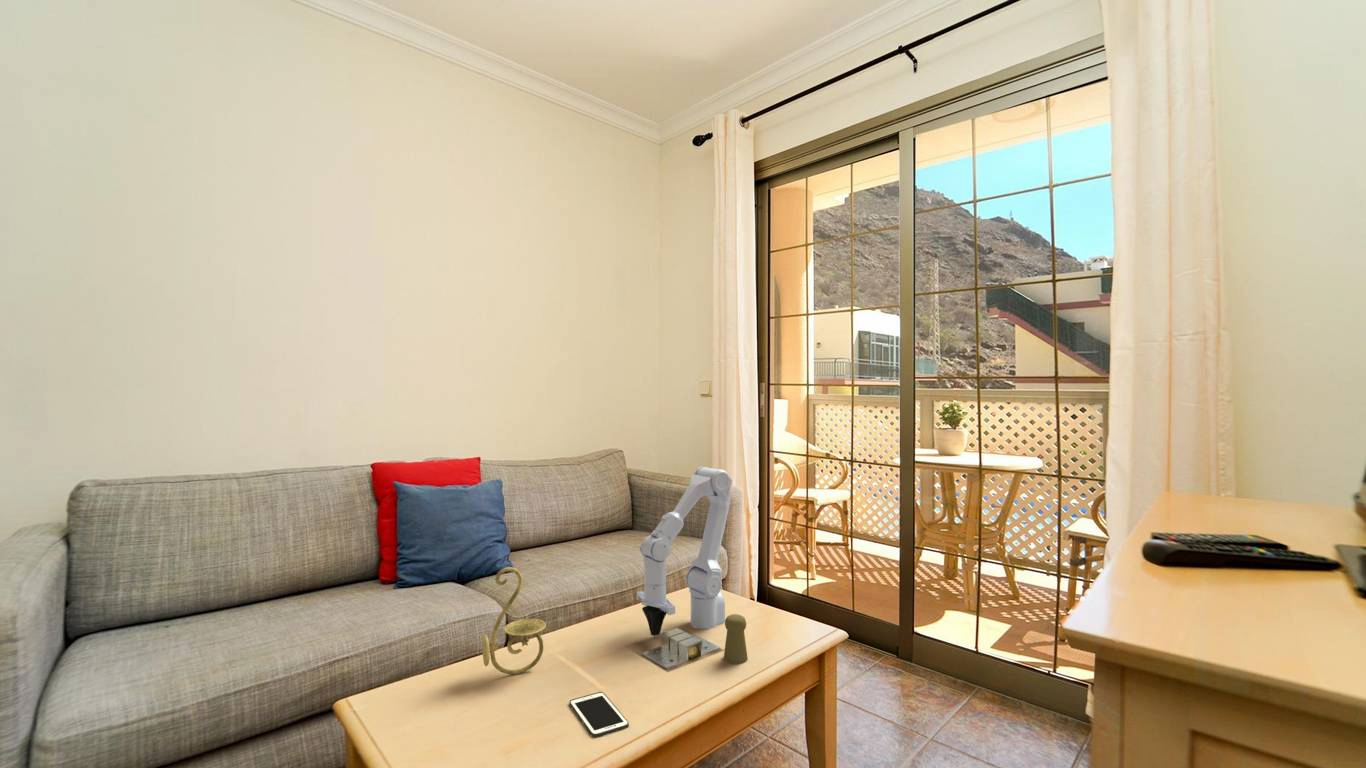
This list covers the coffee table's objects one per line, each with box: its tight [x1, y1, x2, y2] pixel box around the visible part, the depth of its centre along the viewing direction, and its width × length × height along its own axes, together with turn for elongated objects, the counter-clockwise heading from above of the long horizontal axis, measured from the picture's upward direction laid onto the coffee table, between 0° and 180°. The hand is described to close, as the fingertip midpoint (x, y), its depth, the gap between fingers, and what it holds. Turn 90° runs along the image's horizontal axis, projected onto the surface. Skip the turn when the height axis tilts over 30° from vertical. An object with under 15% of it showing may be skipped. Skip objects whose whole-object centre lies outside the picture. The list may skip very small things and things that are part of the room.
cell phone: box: [568, 691, 630, 739], centre depth 119 cm, size 8×15×1 cm, turn 30°
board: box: [624, 627, 725, 673], centre depth 148 cm, size 18×18×1 cm
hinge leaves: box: [642, 627, 721, 669], centre depth 146 cm, size 17×10×4 cm, turn 129°
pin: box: [688, 646, 698, 659], centre depth 146 cm, size 10×3×3 cm, turn 39°
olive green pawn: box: [723, 613, 748, 665], centre depth 142 cm, size 6×6×11 cm
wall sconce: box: [481, 566, 547, 676], centre depth 136 cm, size 14×10×25 cm
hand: (655, 634), depth 154 cm, fingers closed
